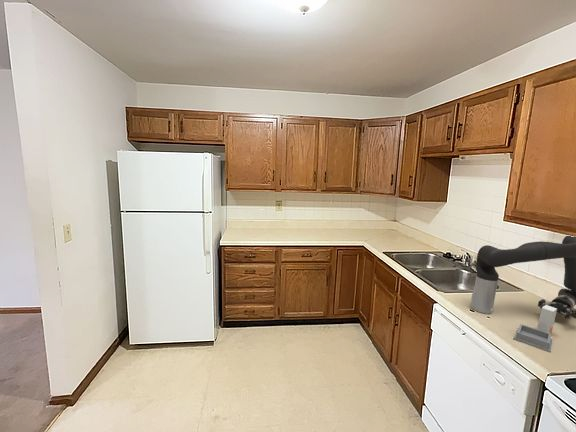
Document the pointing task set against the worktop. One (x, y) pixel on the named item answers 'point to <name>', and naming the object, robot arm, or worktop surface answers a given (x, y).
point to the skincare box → (547, 319)
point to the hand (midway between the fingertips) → (554, 312)
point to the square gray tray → (534, 337)
